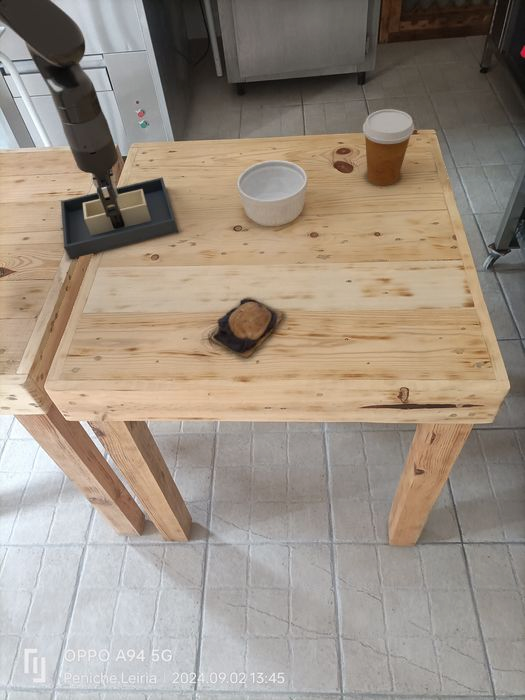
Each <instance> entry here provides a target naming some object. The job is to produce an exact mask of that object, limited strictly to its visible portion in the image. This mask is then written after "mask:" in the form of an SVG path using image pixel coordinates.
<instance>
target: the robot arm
mask: <svg viewBox="0 0 525 700" xmlns="http://www.w3.org/2000/svg"><path fill="white" fill-rule="evenodd" d="M0 23H2V24H3V25H5V26H7V27H8V28H9V29H10V30H11V31H13V32H14V33H15V34H16V35H17V36H18V37H19V38H20V39H22V40H23V41H24V44H25V46H26V48H27V51H28V54H29V56H31V59H32V61H33V63H34V65H35V67H36V69H37V71H38V72H39V74H40V76H41V77H42V80H43V81H44V83H45V84H46V86H47V88H48V90H49V92H50V95H51V98H52V102H53V104H54V106H55V110H56V112H57V114H58V116H59V119H60V122H61V127H62V130H63V133H64V136H65V139H66V141H67V144H68V146H69V149H70V151H71V154H72V156H73V159H74V161H75V164H76V166H77V168H78V169H79V170H80V171H81V172H83V173H86V174H91V175H92V177H91V180H92V183H93V186H94V187H95V189H96V193H98V195H99V198H100V201H101V202H102V204H103V207H104V210H105V212H106V213H105V214H106V216H107V217H110V220H111V222H112V225H113V228H114V229H119V228H123V227H125V223H124V220H123V218H122V215H121V211H120V207H119V204H118V201H117V199H118V198H119V195H118V192H117V188H118V187H117V186H116V183H117V182H116V181H117V180H116V175H115V170H114V166H115V165H116V164H117V163H118V160H119V153H118V151H117V147H116V144H115V141H114V137H113V134H112V132H111V128H110V126H109V123H108V120H107V118H106V115H105V113H104V111H103V109H102V106H101V103H100V100H99V98H98V93H97V91H96V88H95V85H94V83H93V81H92V79H91V78H90V76H89V74H87V73H86V72H85V71H84V69H83V68H82V66H81V64H80V62H81V61H82V60H83V58H84V56H85V53H86V41H85V36H84V34H83V32H82V29H81V28H80V26H79V25H78V23H77V22H76V21H75V20H74V19H73V18H72V17H71V16H69V14H68V13H66V12H65V11H64V10H63V9H62V8H61V7H59V6H58V5H57V4H56V3H55V2H53V1H52V0H0ZM109 205H114V206H112V207H108V206H109Z"/></svg>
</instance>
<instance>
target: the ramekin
mask: <svg viewBox="0 0 525 700" xmlns="http://www.w3.org/2000/svg"><path fill="white" fill-rule="evenodd" d="M236 187H237V193H238V195H239V197H240V200H241V202H242V206H243V209H244V213H245V214H246V216H247V217H248V218H249V219H250V220H251V221H253V222H254V223H255V224H258V225H261V226H264V227H278V226H279V227H280V226H283V225H286V224H289V223H292V222H293V221H294V220H296V218H298V216H300V215H301V213H302V211H303V210H304V206H305V201H306V192H307V191H306V190H307V187H308V177H307V173H306V171H305V170H304V169H303V168H302V167H301V166H299V165H298V164H296V163H295V162H291V161H287V160H279V159H274V160H273V159H272V160H265V161H261V162H258V163H255V164H253V165H250V166H249V167H247V168H245V170H243V171H242V172H241V173H240V174H239V177H238V179H237V182H236Z"/></svg>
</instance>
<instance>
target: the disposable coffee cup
mask: <svg viewBox="0 0 525 700" xmlns="http://www.w3.org/2000/svg"><path fill="white" fill-rule="evenodd" d="M362 131H363V133H364V138H365V139H364V141H365V157H366V174H367V179H368V181H369V182H370V183H372V184H374V185H376V186H390V185H393V184H395V183H396V182H397V181H398V180H399V177H400V175H401V170H402V166H403V163H404V160H405V157H406V152H407V148H408V145H409V141H410V137H411V136H412V134H413V133H414V131H415V125H414V122H413V118H412V116H411V115H410V114H408V113H407V112H405V111H402V110H399V109H391V108H388V109H387V108H386V109H380V110H376V111H374V112H371V113H370V114H369V115H368V116H367V117H366V119H365V122H364V123H363V125H362Z"/></svg>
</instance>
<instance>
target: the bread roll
mask: <svg viewBox="0 0 525 700" xmlns="http://www.w3.org/2000/svg"><path fill="white" fill-rule="evenodd" d="M282 318H283V313H282V312H281V311H279V310H277V309H275V308H273V307H271V306H269V305H266V304H264V303H263V302H260V301H258V300H256V299H253V298H251V297H246V298H244V299H241V300H240V301H239V305H237V306H236V307H234V308H232V309H230V310H229V311H227V312H226V313H225V315H224V316H222V317H220V318H218V320H217V325H218V327H217V328H216V330H215V331H214V332H213V334H212V335H211V336H210V339H211V342H213V343H214V344H216V345H219V346H220V347H222V348H223V349H227V350H229V351H230V352H231V353H234V354H236V355H239V356H241V357H243V358H244V359H245V358H246V359H247V358H249V357H250V356H251V355H252V354H253V353H254V352H255V351H256V350H257V349H258V347H260V346H261V345H262V344H263V342H264V340H265V339H267V338H268V337H269V336H270V335H271V333H272V332H273V330H275V329H276V327H277V325H278V324H279V323H280V321H281V320H282Z"/></svg>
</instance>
